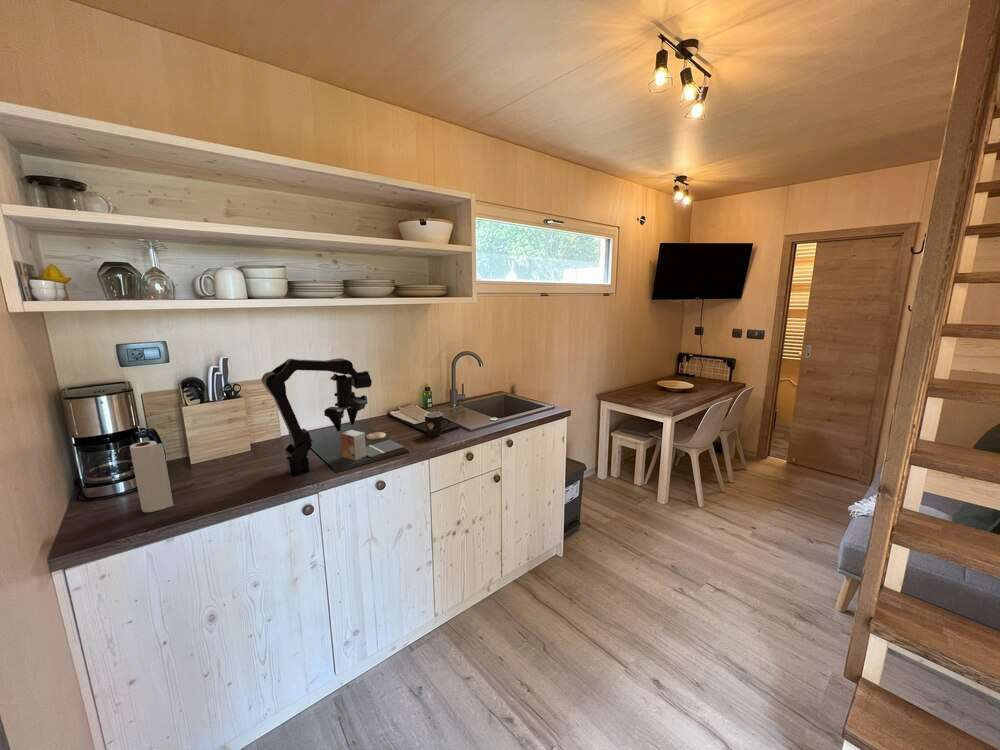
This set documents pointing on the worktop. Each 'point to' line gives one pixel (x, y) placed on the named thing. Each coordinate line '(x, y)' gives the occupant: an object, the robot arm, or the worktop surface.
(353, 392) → the robot arm
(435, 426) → the coffee mug
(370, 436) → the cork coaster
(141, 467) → the paper towel roll
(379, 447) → the mat
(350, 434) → the small box
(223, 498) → the worktop surface
